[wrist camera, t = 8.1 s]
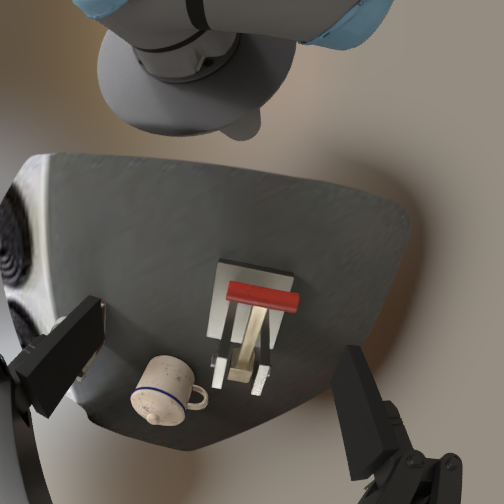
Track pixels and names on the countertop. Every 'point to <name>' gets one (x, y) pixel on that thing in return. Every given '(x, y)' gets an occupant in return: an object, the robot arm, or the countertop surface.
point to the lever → (255, 321)
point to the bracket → (244, 318)
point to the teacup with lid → (166, 391)
